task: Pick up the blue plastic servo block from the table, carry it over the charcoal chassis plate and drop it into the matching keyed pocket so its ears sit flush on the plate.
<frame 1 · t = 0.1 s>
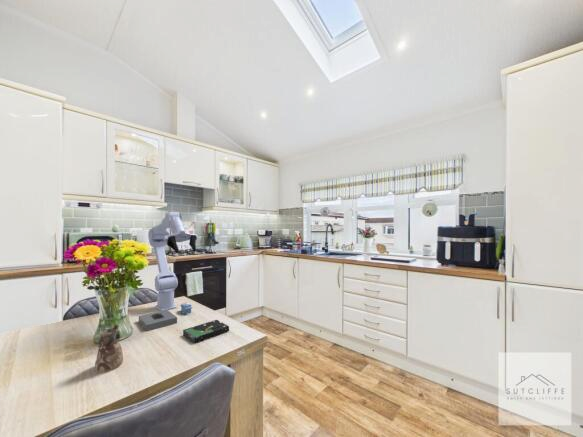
hand: (186, 250, 112), 32 cm above the table, tool tilted 50°, fingers open, 7 cm apart
servo: (186, 312, 125), on the table
chassis: (157, 322, 113), on the table
figurine: (109, 366, 79), on the table
disk drive: (206, 335, 101), on the table
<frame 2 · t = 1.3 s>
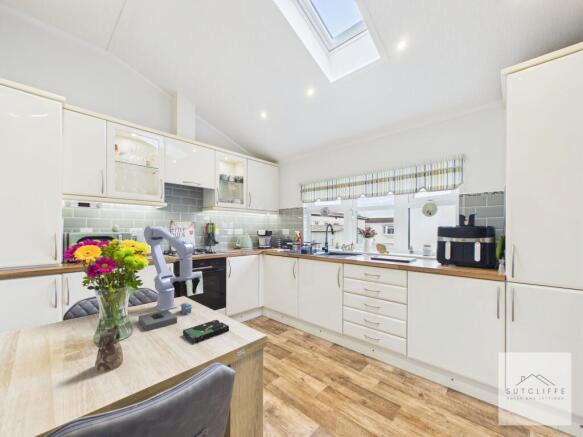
hand: (186, 295, 125), 8 cm above the table, tool pointing down, fingers open, 7 cm apart
nothing on the table moved.
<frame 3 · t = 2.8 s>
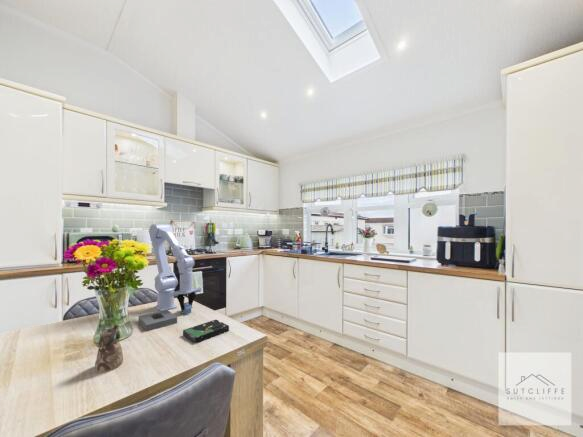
hand: (186, 308, 125), 2 cm above the table, tool pointing down, fingers closed on servo, 3 cm apart
servo: (186, 312, 125), on the table, touching gripper
everything else where it was.
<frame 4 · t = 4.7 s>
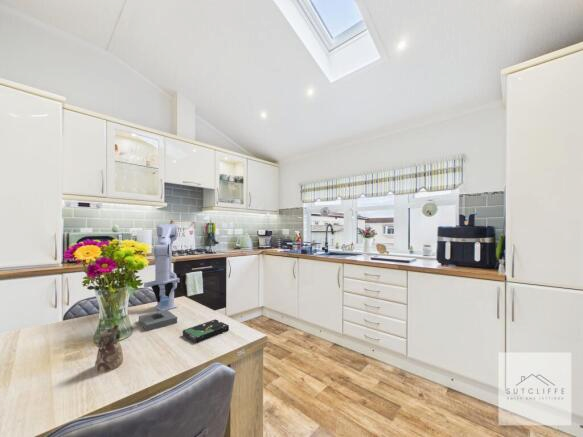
hand: (162, 300, 115), 9 cm above the table, tool pointing down, fingers closed on servo, 3 cm apart
servo: (162, 304, 114), point 7 cm above the table, touching gripper
everything else where it was.
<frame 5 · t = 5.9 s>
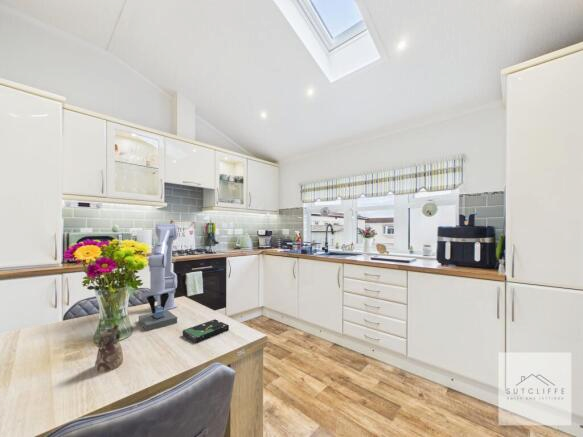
hand: (157, 311, 113), 5 cm above the table, tool pointing down, fingers closed on servo, 3 cm apart
servo: (157, 315, 112), point 3 cm above the table, touching gripper
everything else where it was.
when the fingers open (3 cm above the table, at t = 6.6 s): servo drops 1 cm, resting on chassis.
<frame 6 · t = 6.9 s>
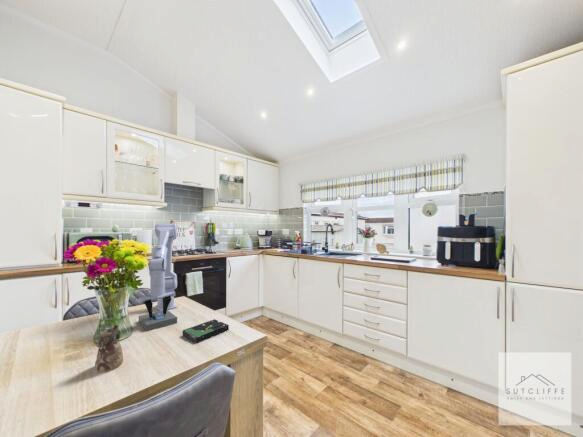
hand: (157, 315, 113), 3 cm above the table, tool pointing down, fingers open, 5 cm apart
servo: (157, 322, 112), resting on chassis
everything else where it was.
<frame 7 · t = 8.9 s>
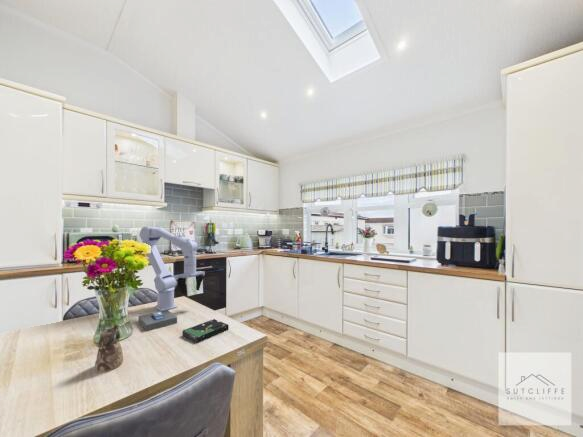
hand: (190, 291, 128), 9 cm above the table, tool pointing down, fingers open, 7 cm apart
nothing on the table moved.
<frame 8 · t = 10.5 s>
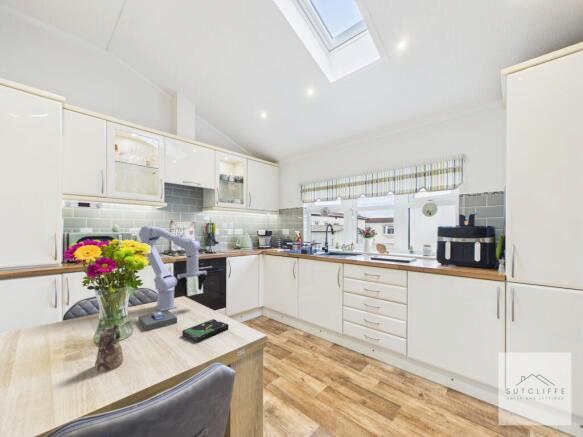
hand: (192, 290, 129), 9 cm above the table, tool pointing down, fingers open, 7 cm apart
nothing on the table moved.
at the end: servo 0.4 cm off-centre on the chassis, point 0.0 cm above the chassis's base; servo tilted 0°; the gripper is holding nothing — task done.
